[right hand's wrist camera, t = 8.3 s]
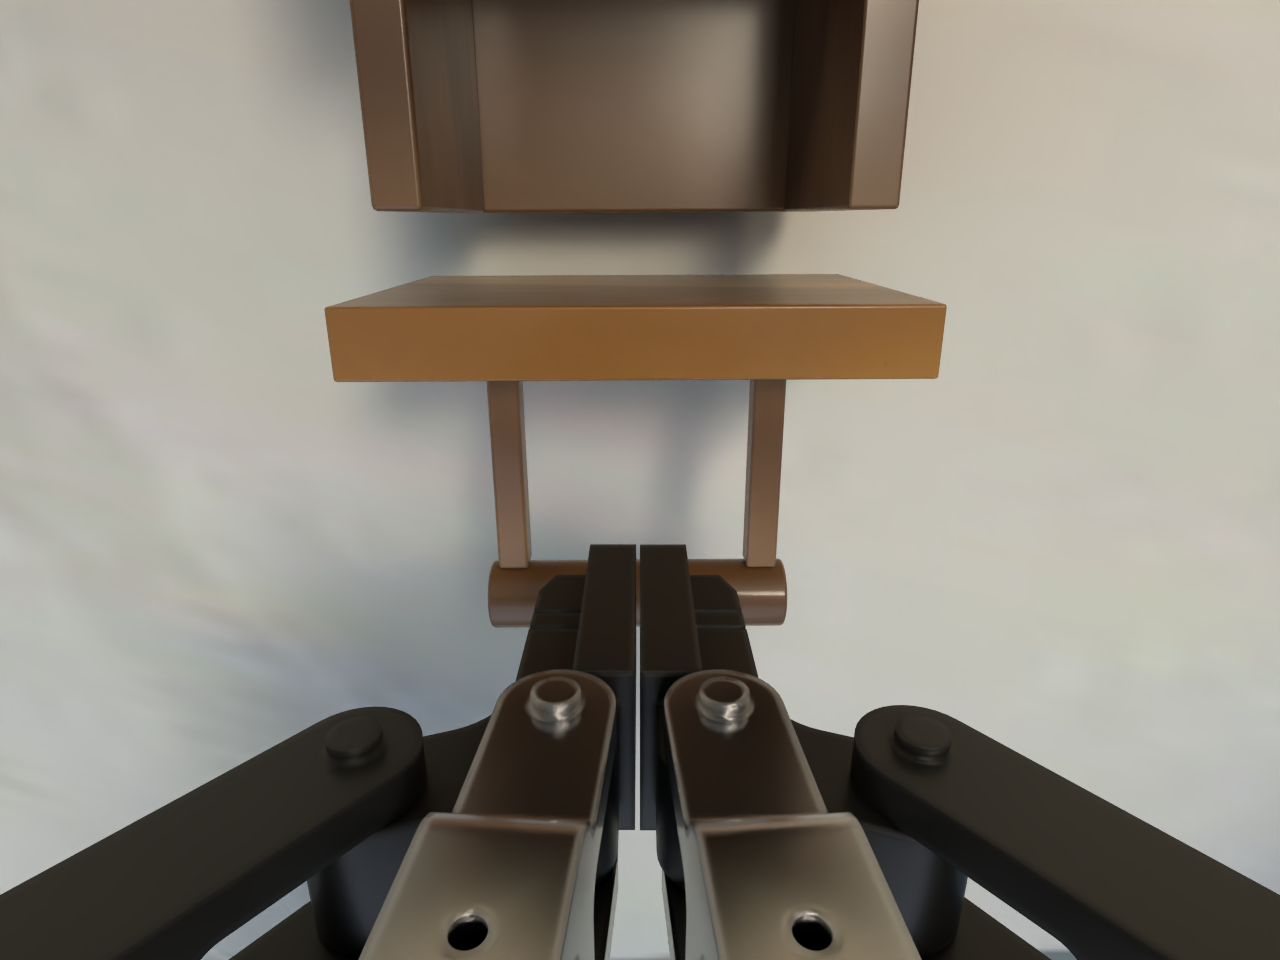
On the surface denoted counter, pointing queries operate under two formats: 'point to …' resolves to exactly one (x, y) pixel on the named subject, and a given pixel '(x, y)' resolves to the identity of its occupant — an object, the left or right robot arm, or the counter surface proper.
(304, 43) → the counter surface
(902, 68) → the drawer
